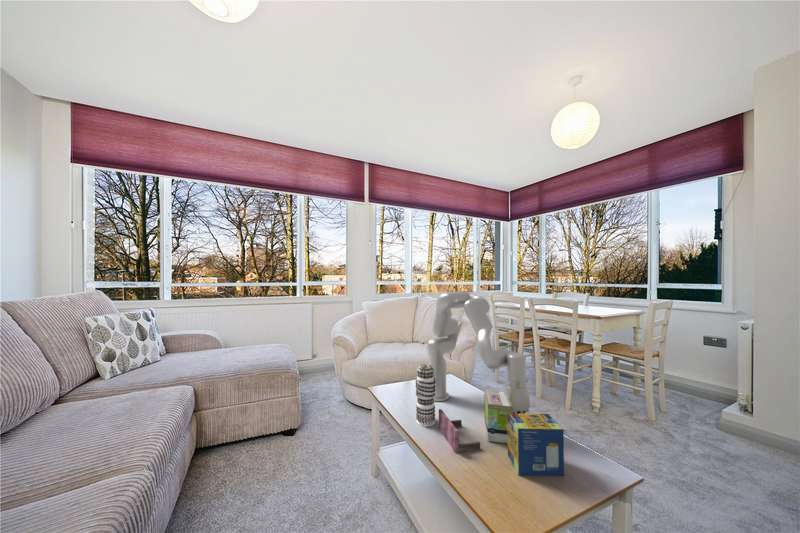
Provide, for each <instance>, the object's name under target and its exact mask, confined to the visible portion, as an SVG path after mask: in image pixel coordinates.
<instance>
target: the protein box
mask: <svg viewBox="0 0 800 533" xmlns="http://www.w3.org/2000/svg"><path fill="white" fill-rule="evenodd" d="M507 428H508V443H507V457H508V459H509V461H510V462H511V464H512V466H513V468H514V470H515V472H516V474H517V476H533V477H534V476H537V477H538V476H541V477H543V476H544V477H545V476H546V477H565V451H564V449H565V448H564V447H565V443H564V440H565V439H564V428H563V427H561V425H559V423H558V422H557V421H556V420H555V419H554V418H553V417H552V416H551V415H550V414H549V413H524V414H507Z"/></svg>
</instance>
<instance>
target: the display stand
mask: <svg viewBox="0 0 800 533" xmlns="http://www.w3.org/2000/svg"><path fill="white" fill-rule="evenodd" d="M462 423H463V422H462V419H455V420H454V419H453V420H450V419H449V417H448V416H447V415H446V413H445V412H444V410H442V409H441V408H439V409H438V429H439V431H440V432H441V434H442V435H443V437H444V438H445V440H446V441H447V443H448V444H449V446H450V447H451V449H452V451H453V452H454V453H455V454H458V453H459V454H460V453H464V452H465V453H466V452H472V451H480V450H481V441H471V442H465V443H459V431H458V429H457V428H462V426H463V425H462Z"/></svg>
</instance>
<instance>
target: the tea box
mask: <svg viewBox="0 0 800 533" xmlns="http://www.w3.org/2000/svg"><path fill="white" fill-rule="evenodd" d="M483 396H484V398H483V399H484V400H483V401H484V402H483V403H484V406H483V408H484V410H483V411H484V415H483V416H484V417H483V418H484V419H483V420H484V421H483V422H484V427H485V433H486V438H487V441H488V442H494V443H502V444H503V443H504V444H508V428H507V414H513V406H512V403H511V401H510V399H509V398H507V397H506V396H504V391H499V390H498V391H497V390H496V391H495V390H486V389H484V393H483Z"/></svg>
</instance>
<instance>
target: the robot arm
mask: <svg viewBox="0 0 800 533" xmlns="http://www.w3.org/2000/svg"><path fill="white" fill-rule="evenodd" d="M460 308H463V310H464V312H465V314H466V316H467V319H468V321H469V322H470V323H471V326H472V328H473V330H474V331H475V343H476V344H475V345H476V350H477V353H478V355H479V357H480V358H481V361H482V362H483V365H485V367H486V368H488V369H489V370H492V371H496V370H499V369H501V368H505V367H506V385H505V386H504V390H503V392H504V396H506V397H507V398H509V399H510V401H511V403H512V406H513V414H527V413H528V412H529V411H530V410H529V409H530V407H531V406H530V405H531V404H530V393H529V389H528V386H527V383H528V382H529V380H528V379H527V375H526V374H527V368H526V356H525V355H524V354H523V353H519V352H514V351H511V350H508V349H505V348H499V349H495V350H494V349H493V347H492V345H491V343H490V333H491V331H492V330H493V324H492V322H491V320H490V318H489V316H488V315H487V314H488V313H489V311H490V308H491V305H490V302H489V301H488V300H487V299H485V297H482V296H480V295H477V294H474V293H471V292H468V291H450V292H443V293H441V294H440V295H438V298H437V301H436V306H435V315H434V319H433V324H432V334H433V335H434V336H435V337H434V338H431V339H429V341H428V342H427V343H426V353H427V358H428V361H427V362H428V365H431V366H432V368H434V377H435V380H434V381H435V382H436V383H435V384H433V385H435V388H434V389H435V392H434V393H435V397H434V402H444V401H447V400H449V398H450V393H449V392H447V362H446V359H445V357H444V355H447V354H450V353H453V352H454V351H455V349H456V346H457V342H458V336H459V332H460V327H459V322H458V320H456V318H453V317H452V309H460Z"/></svg>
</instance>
